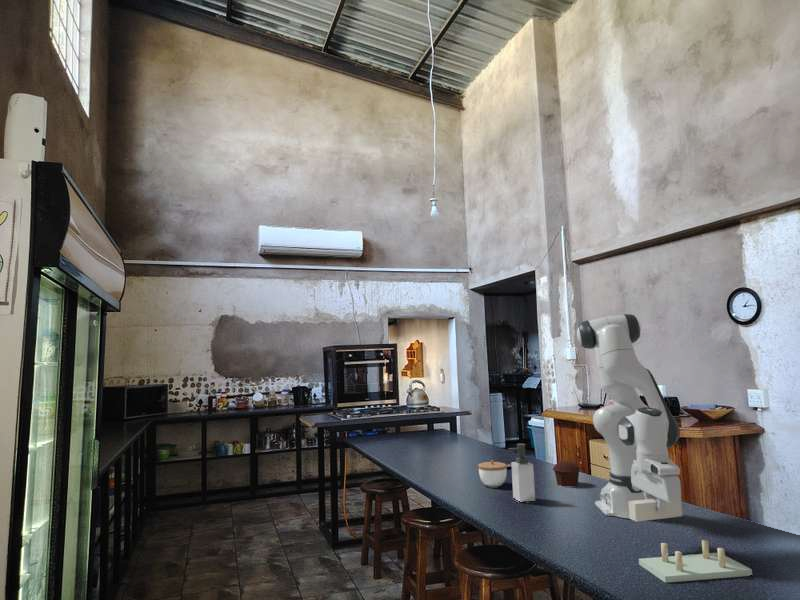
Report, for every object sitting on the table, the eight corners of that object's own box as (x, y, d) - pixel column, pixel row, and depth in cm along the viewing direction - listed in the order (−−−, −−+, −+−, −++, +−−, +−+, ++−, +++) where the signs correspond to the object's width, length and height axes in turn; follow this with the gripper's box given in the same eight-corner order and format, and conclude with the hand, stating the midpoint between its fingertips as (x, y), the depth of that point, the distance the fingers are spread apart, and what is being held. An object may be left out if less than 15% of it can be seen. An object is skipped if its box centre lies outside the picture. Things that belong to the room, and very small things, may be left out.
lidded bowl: (510, 488, 231) (508, 462, 232) (481, 489, 231) (479, 463, 232) (504, 481, 244) (503, 457, 245) (477, 482, 244) (476, 457, 245)
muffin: (579, 481, 239) (577, 459, 240) (583, 487, 229) (581, 464, 230) (552, 481, 241) (550, 459, 242) (554, 487, 231) (553, 464, 232)
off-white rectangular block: (636, 521, 155) (635, 504, 156) (629, 518, 158) (628, 501, 159) (682, 516, 159) (681, 499, 159) (674, 513, 162) (673, 496, 162)
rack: (665, 582, 134) (663, 558, 135) (639, 564, 146) (637, 541, 147) (752, 575, 137) (750, 551, 137) (719, 558, 149) (717, 535, 149)
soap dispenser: (507, 499, 214) (505, 443, 217) (528, 497, 216) (525, 442, 218) (514, 503, 208) (511, 446, 210) (535, 501, 210) (532, 444, 212)
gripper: (624, 456, 170) (626, 500, 169) (663, 471, 150) (666, 521, 148) (642, 455, 171) (645, 499, 169) (684, 470, 150) (687, 520, 149)
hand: (655, 509), depth 159 cm, fingers closed on off-white rectangular block, 3 cm apart
